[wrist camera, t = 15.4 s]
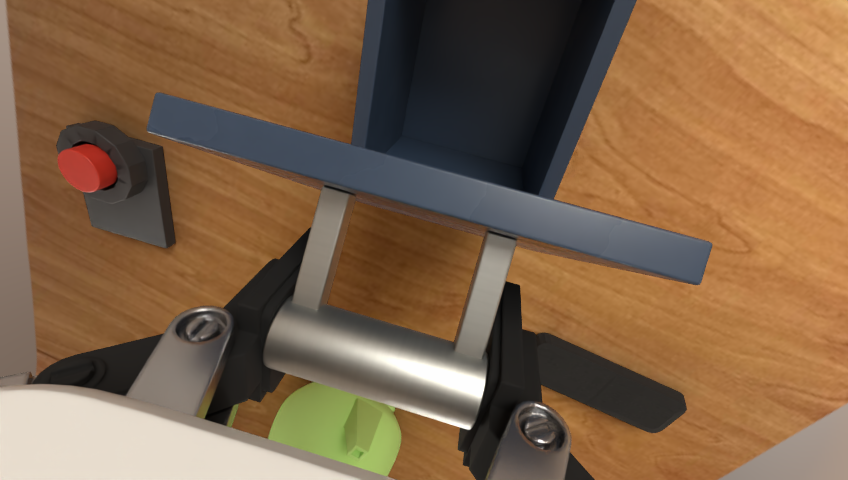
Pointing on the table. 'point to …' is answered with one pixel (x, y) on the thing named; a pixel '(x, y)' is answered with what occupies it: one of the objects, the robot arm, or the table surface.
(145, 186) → the switch block
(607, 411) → the remote control
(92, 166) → the button
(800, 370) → the table surface
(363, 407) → the teapot
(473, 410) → the blue drawer with handle
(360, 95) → the lidded box
